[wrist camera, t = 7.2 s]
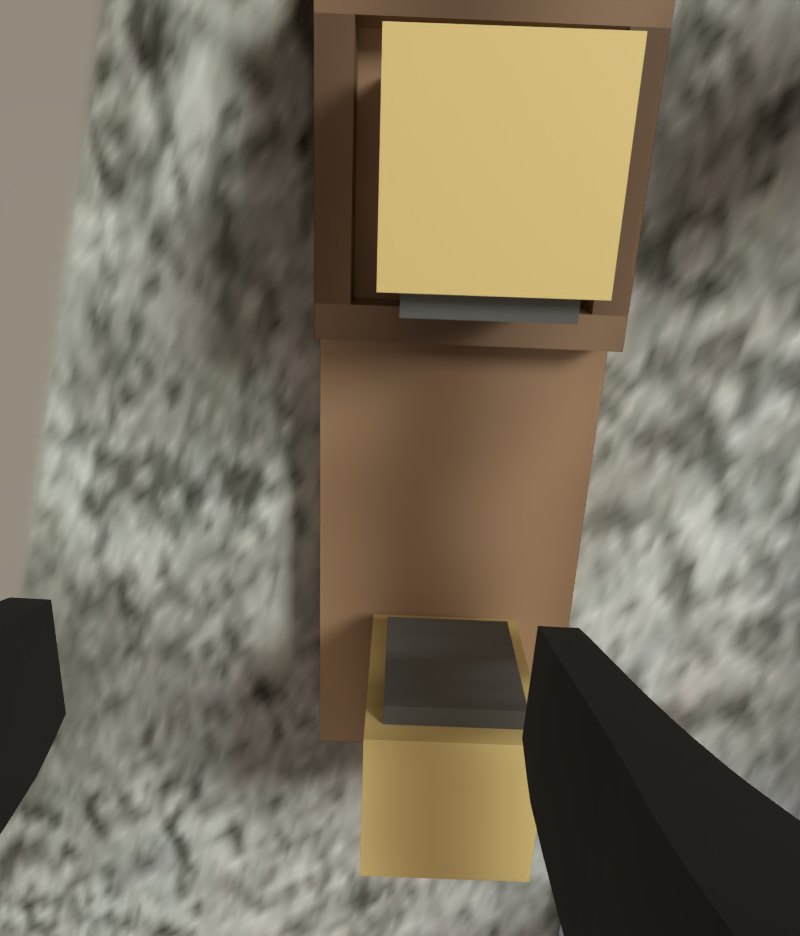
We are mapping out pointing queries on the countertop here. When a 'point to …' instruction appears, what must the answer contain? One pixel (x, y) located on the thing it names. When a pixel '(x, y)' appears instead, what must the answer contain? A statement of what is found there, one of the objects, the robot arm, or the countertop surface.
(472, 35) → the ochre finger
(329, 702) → the brown wooden tray
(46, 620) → the robot arm
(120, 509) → the countertop surface
